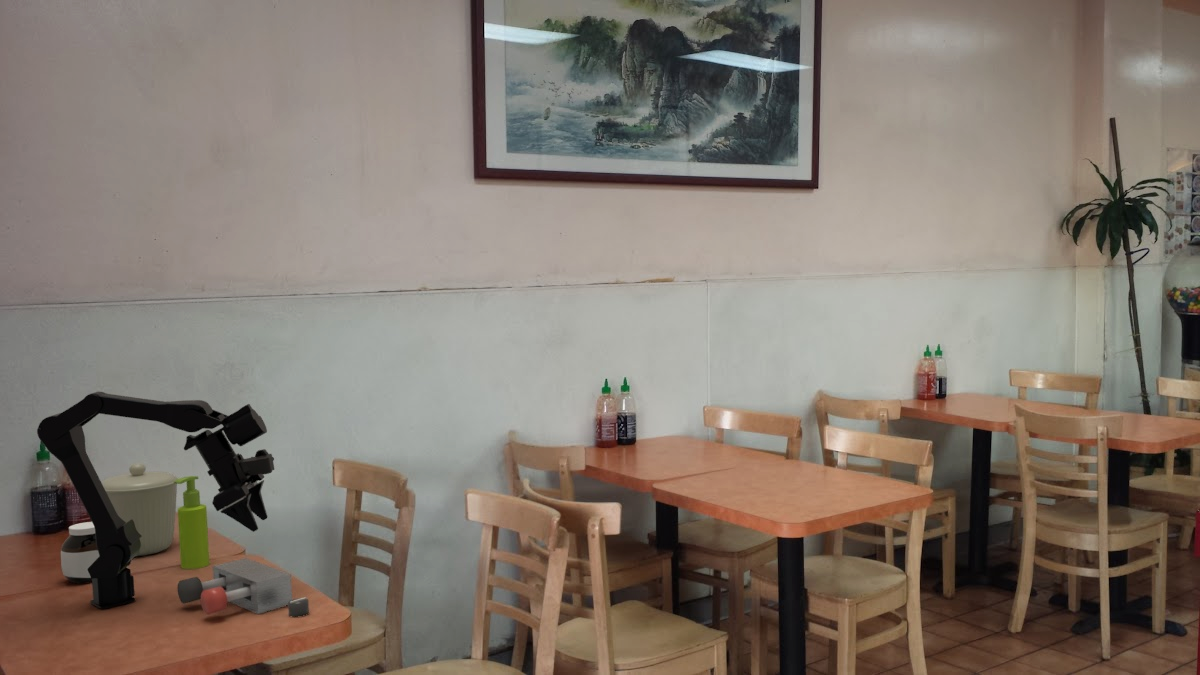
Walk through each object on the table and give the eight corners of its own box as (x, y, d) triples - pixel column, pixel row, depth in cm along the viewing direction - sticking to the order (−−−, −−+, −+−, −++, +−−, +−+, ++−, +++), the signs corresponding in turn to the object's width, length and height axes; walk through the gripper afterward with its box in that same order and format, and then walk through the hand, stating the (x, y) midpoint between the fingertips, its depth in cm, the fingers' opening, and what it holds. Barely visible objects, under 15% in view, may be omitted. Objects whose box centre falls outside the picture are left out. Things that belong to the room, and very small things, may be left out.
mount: (258, 614, 187) (256, 582, 186) (214, 595, 199) (212, 566, 199) (292, 604, 192) (290, 573, 191) (247, 587, 204) (245, 558, 204)
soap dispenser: (171, 569, 219) (166, 479, 218) (195, 560, 226) (190, 473, 225) (192, 571, 217) (186, 480, 216) (215, 562, 223) (210, 474, 222)
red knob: (212, 616, 182) (210, 592, 182) (201, 611, 185) (200, 588, 185) (272, 600, 191) (271, 577, 190) (261, 595, 194) (260, 573, 193)
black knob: (188, 605, 189) (186, 582, 189) (178, 601, 192) (176, 578, 192) (247, 590, 198) (246, 568, 197) (237, 585, 201) (236, 564, 200)
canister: (199, 546, 239) (194, 459, 237) (129, 565, 223) (123, 472, 222) (154, 538, 248) (149, 454, 247) (83, 556, 233) (78, 466, 232)
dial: (295, 618, 184) (294, 603, 183) (285, 614, 186) (284, 600, 186) (312, 613, 186) (311, 599, 186) (302, 609, 189) (301, 595, 188)
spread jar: (77, 587, 208) (73, 532, 207) (47, 580, 214) (43, 527, 213) (130, 572, 218) (127, 519, 217) (100, 566, 224) (97, 514, 223)
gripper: (246, 445, 190) (288, 515, 192) (266, 430, 208) (304, 494, 210) (193, 474, 189) (236, 544, 191) (218, 457, 207) (256, 521, 209)
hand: (260, 524), depth 200 cm, fingers open, 9 cm apart
